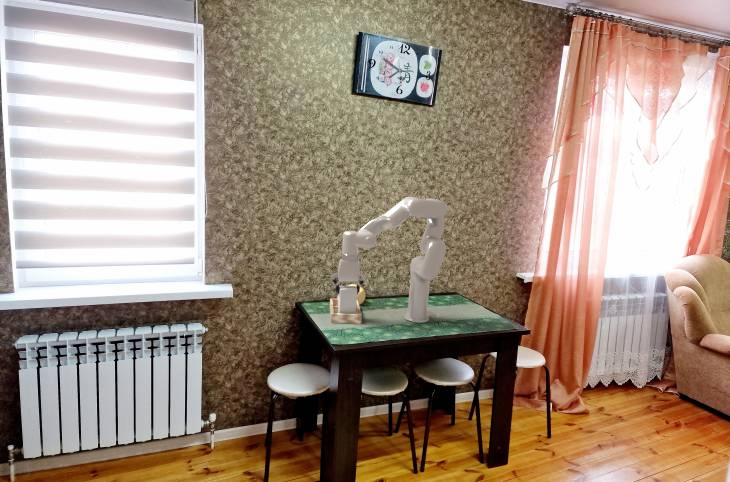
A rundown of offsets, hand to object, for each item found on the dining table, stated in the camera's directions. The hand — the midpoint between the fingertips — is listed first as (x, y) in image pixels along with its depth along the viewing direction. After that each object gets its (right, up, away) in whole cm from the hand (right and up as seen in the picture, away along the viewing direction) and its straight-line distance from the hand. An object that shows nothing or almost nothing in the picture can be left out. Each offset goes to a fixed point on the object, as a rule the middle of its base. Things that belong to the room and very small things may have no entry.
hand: (347, 293), depth 222 cm
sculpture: (+2, -9, +28) cm, 30 cm away
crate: (-2, -12, +8) cm, 15 cm away
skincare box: (-1, -12, +2) cm, 12 cm away
